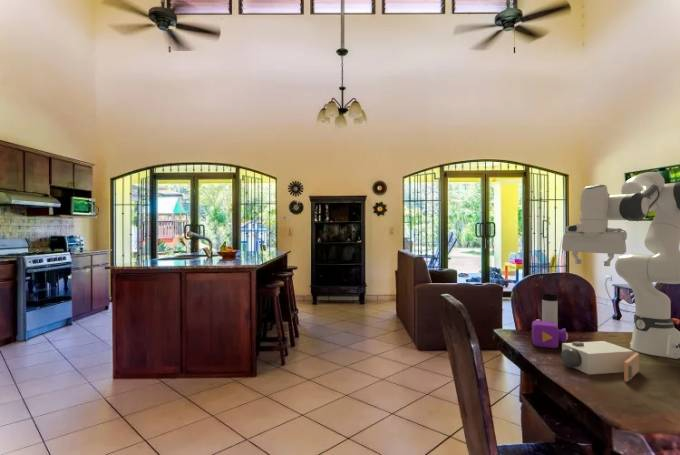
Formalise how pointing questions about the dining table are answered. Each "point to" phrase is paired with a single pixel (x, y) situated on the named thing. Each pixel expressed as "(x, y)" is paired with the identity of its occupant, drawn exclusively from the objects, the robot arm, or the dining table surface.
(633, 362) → the side door
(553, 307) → the travel mug
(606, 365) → the white projector
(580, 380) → the dining table surface
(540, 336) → the toy camera
